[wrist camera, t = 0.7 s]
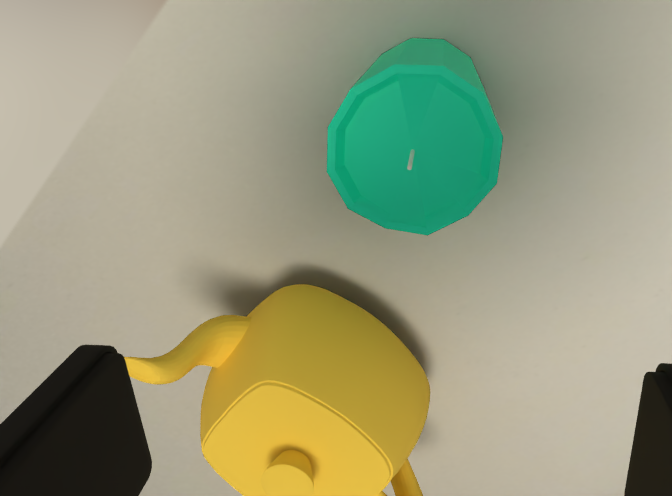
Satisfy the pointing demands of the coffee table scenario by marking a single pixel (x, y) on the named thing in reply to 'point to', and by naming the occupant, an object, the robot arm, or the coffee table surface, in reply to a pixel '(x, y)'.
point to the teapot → (303, 397)
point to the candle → (415, 139)
